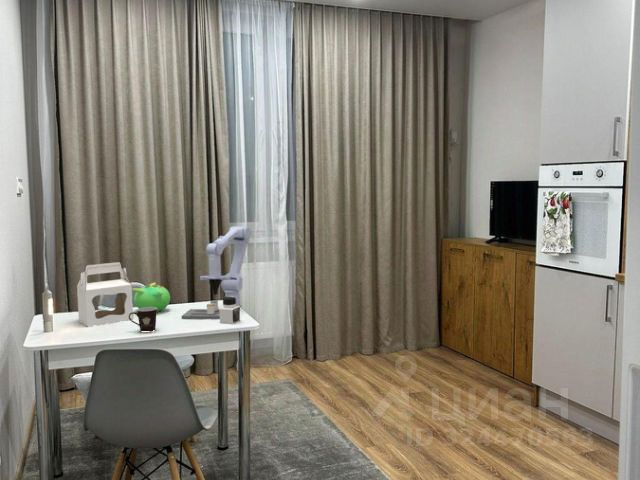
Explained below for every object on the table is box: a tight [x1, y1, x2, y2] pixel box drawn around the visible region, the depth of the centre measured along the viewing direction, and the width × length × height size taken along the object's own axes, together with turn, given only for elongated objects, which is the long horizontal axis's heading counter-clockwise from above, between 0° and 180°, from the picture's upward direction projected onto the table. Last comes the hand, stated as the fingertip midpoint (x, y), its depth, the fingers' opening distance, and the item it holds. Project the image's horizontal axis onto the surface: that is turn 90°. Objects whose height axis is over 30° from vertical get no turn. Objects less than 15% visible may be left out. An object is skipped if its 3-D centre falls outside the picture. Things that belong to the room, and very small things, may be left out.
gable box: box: [76, 261, 134, 327], centre depth 281 cm, size 22×13×28 cm, turn 129°
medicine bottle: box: [219, 296, 241, 325], centre depth 276 cm, size 7×7×12 cm
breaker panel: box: [181, 308, 220, 320], centre depth 290 cm, size 15×19×2 cm
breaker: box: [209, 300, 219, 311], centre depth 293 cm, size 3×3×5 cm
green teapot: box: [132, 282, 171, 313], centre depth 299 cm, size 18×17×15 cm
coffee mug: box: [129, 307, 158, 332], centre depth 262 cm, size 12×9×10 cm
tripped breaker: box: [206, 303, 215, 314], centre depth 286 cm, size 3×3×5 cm
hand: (215, 294), depth 290 cm, fingers closed
